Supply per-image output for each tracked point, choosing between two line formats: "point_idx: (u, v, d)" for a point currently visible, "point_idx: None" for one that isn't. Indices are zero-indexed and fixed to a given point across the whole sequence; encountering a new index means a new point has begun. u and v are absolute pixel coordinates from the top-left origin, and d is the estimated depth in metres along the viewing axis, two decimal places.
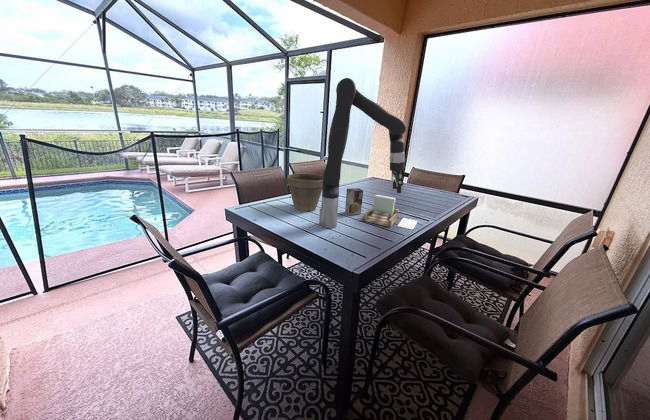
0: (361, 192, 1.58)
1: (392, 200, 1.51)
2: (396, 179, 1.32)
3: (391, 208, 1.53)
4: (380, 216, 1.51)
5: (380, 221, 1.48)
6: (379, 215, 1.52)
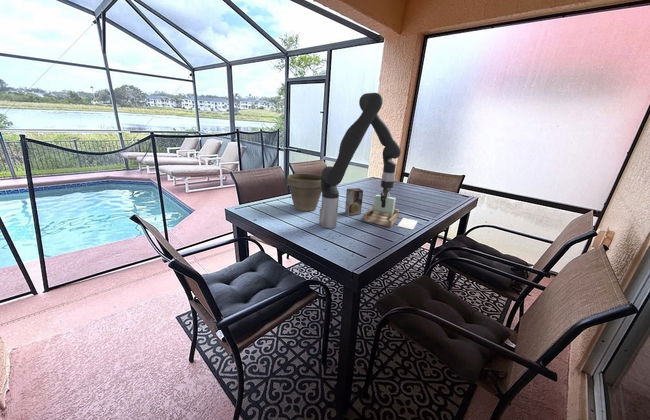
0: (361, 192, 1.58)
1: (392, 200, 1.51)
2: None
3: (391, 208, 1.53)
4: (380, 216, 1.51)
5: (380, 221, 1.48)
6: (379, 215, 1.52)
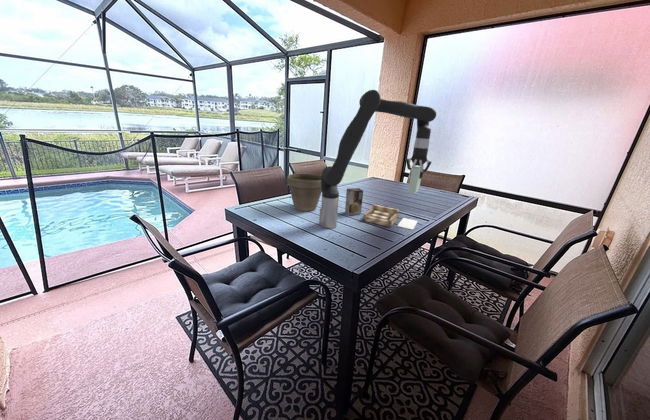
0: (361, 192, 1.58)
1: (412, 169, 1.37)
2: None
3: (410, 178, 1.39)
4: (380, 216, 1.51)
5: (380, 221, 1.48)
6: (379, 215, 1.52)
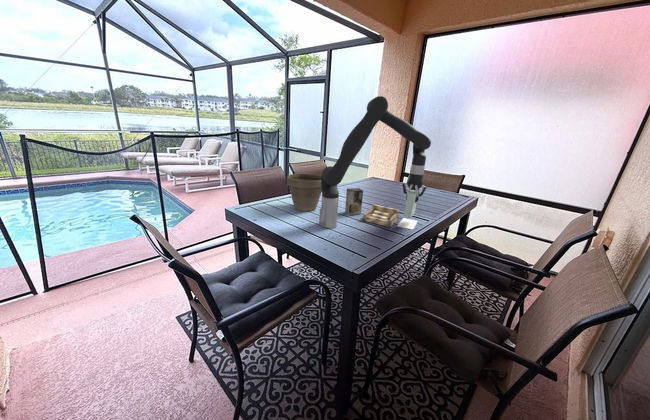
0: (361, 192, 1.58)
1: None
2: None
3: (406, 202, 1.44)
4: (380, 216, 1.51)
5: (380, 221, 1.48)
6: (379, 215, 1.52)
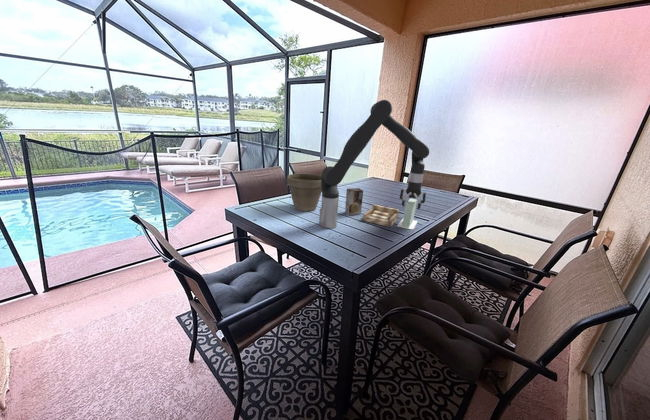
0: (361, 192, 1.58)
1: (406, 204, 1.44)
2: None
3: (404, 212, 1.46)
4: (380, 216, 1.51)
5: (380, 221, 1.48)
6: (379, 215, 1.52)
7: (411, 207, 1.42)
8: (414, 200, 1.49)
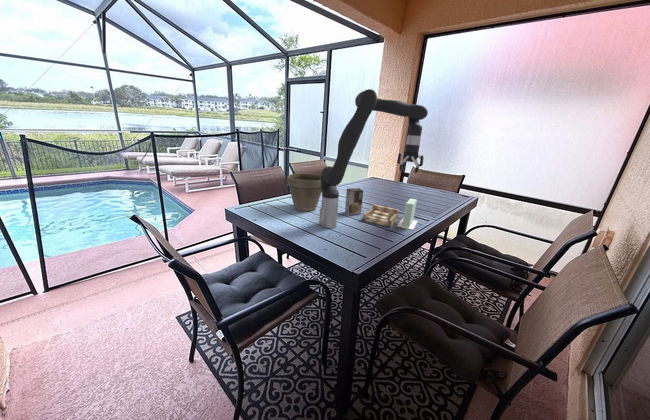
0: (361, 192, 1.58)
1: (406, 204, 1.44)
2: None
3: (404, 212, 1.46)
4: (380, 216, 1.51)
5: (380, 221, 1.48)
6: (379, 215, 1.52)
7: (411, 207, 1.42)
8: (414, 200, 1.49)
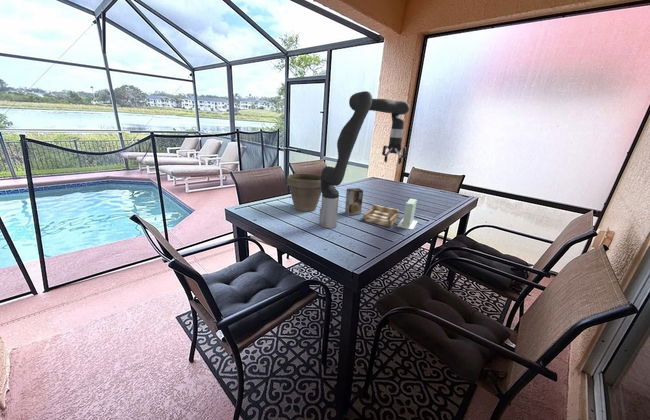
0: (361, 192, 1.58)
1: (406, 204, 1.44)
2: None
3: (404, 212, 1.46)
4: (380, 216, 1.51)
5: (380, 221, 1.48)
6: (380, 215, 1.52)
7: (411, 207, 1.42)
8: (414, 200, 1.49)
